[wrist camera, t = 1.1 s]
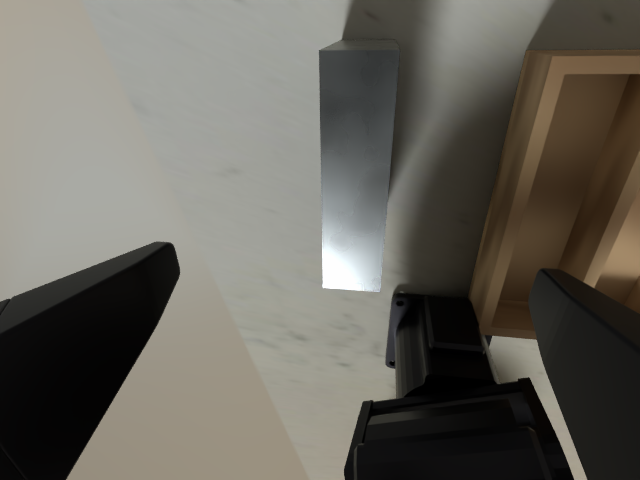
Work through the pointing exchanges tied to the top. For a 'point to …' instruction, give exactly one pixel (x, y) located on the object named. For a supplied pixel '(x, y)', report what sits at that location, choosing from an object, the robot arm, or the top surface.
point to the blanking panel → (356, 158)
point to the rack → (564, 186)
